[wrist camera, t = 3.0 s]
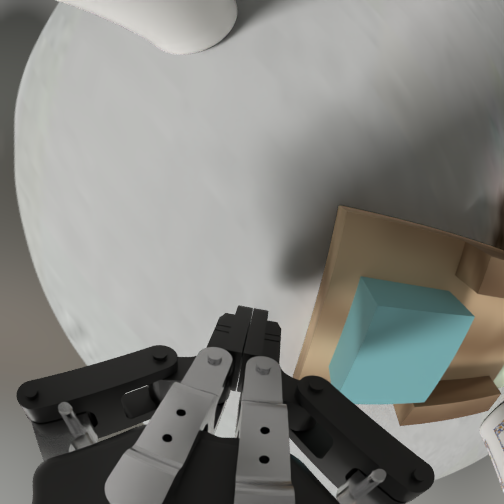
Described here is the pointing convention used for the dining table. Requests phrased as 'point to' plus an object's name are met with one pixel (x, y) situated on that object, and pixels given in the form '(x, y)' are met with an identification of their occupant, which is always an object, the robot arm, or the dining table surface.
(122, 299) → the dining table surface
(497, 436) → the bath foam
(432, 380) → the block
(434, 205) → the dining table surface
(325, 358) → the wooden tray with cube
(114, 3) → the drinking glass
